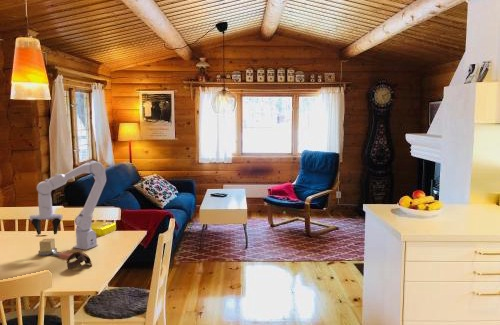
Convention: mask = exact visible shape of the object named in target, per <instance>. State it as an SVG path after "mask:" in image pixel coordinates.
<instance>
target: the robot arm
mask: <svg viewBox="0 0 500 325" xmlns="http://www.w3.org/2000/svg"><path fill="white" fill-rule="evenodd" d="M82 174H91V175H92V177H93V178H94V183H93V186H92V187H91V190H90V192H89V194H88V197H87V199H86V201H85V204H84V205H83V208H82V210H81V211H80V212H79V213H78V215H77V216H76V217H75V218H74V223H75V225H76V228H75V238H76V241H75V242H76V245H73V246H72V248H73V249H74V248H75V249H80V250H90V249H92V248H94V247H97V246H99V244H98V242H97V236H96V232H95V231H93V230H92V229H91V225H92V223H93V222H92V220H93V217H94V216H93V215H94V211H95V209H96V207H97V205H98V202H99V199H100V197H101V195H102V192H103V190H104V187H105V186H106V183H107V173H106V167H105V166H104V164H103V163H101V162H99V161H96V160H90V161H88V162H85V163H83V164H80V165H79V166H78V167H75V168H73V169H72V170H69V171H67V172H66V173H64V174H63V173H54V176H51V177H49V178H46V179H45V180H44V181H40V182H39V183H37V185H36V191H37V193H38V194H37V196H38V197H37V198H38V200H37V201H38V214H34V215H33V214H32V215H30V216H29V221H31V225H32V226H33V227H34V228H35V231H36V235H38V236H40V235H41V233H42V229H41V226H42V224H41V222H42V220H51V224H52V227H53V235H57V234H58V229H59V225H60V223H61V221H62V219H64V218H63V214H58V213H57V214H55V213H53V199H52V191H54V190H57V189H58V188H60V187H62V186H64V185H66V184H67V182H68V180H70V179H74V178H75V177H77V176H79V175H82Z"/></svg>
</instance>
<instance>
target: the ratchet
mask: <svg viewBox="0 0 500 325" xmlns="http://www.w3.org/2000/svg"><path fill="white" fill-rule="evenodd" d="M72 253H73V252H68V251H63V252H62V251H61V252H60V251H58V249H57V247H55V249H54V250H53V251H51V252H40V249H39V250H38V256H39V257H49V256H53V257H56V258H61V259H65V258H66V260H67V258H68V257H69V256H70V255H71V254H72ZM74 259H76V258H75V256H74V257H73V258H72V259H71V260H74Z"/></svg>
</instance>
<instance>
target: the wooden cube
mask: <svg viewBox="0 0 500 325" xmlns="http://www.w3.org/2000/svg"><path fill="white" fill-rule="evenodd" d="M55 240H56V239H55V238H43V239H42V240H40V241H39V250H40V252H51V251H53V250H54V249H55V248H56V243H55V242H56V241H55Z"/></svg>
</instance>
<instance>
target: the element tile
mask: <svg viewBox="0 0 500 325" xmlns="http://www.w3.org/2000/svg"><path fill="white" fill-rule="evenodd" d="M91 229H92V230H93V231H95V232H96V237H103V236H105V235H107V234H110V233H112V232H115V231H116V230H117V223H116V222H111V221H98V220H96V221H93V222H92V225H91ZM109 232H110V233H109Z"/></svg>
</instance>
